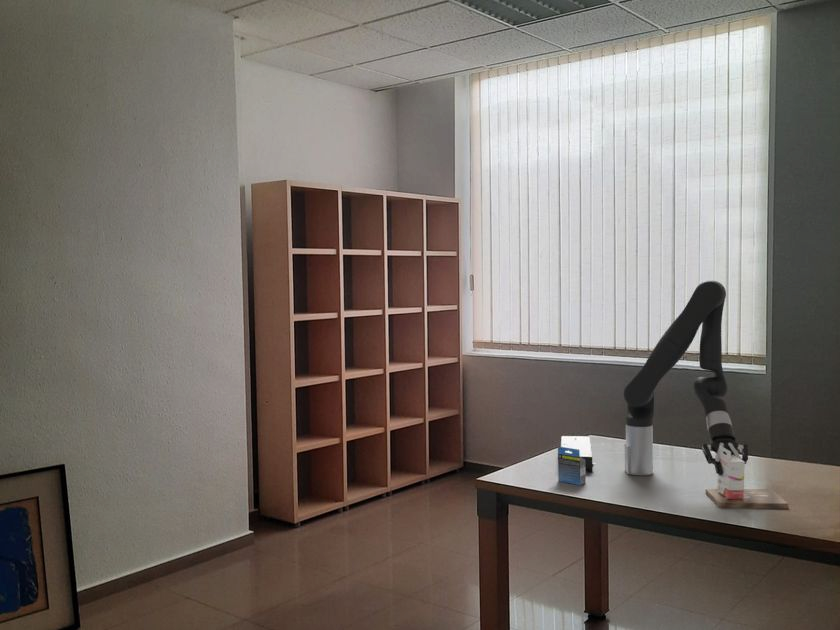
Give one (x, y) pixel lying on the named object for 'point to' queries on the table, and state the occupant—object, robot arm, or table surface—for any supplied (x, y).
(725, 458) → the ink cartridge box
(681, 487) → the table surface
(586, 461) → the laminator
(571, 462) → the label tape cartridge
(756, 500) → the walnut board
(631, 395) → the robot arm
